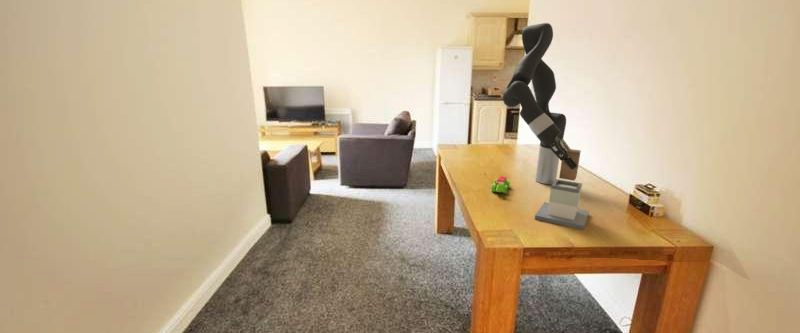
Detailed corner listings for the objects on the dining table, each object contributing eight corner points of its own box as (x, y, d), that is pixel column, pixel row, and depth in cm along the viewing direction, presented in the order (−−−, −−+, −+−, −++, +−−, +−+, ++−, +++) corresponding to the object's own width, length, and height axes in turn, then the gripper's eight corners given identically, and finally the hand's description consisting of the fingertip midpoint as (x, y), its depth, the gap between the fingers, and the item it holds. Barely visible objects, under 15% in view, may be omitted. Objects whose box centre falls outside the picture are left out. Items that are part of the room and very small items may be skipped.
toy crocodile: (496, 182, 171) (497, 170, 170) (510, 184, 169) (511, 172, 167) (489, 195, 154) (490, 182, 152) (505, 198, 151) (507, 184, 150)
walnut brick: (561, 174, 132) (565, 148, 129) (576, 177, 129) (580, 150, 127) (559, 178, 128) (563, 150, 125) (574, 180, 125) (578, 152, 123)
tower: (543, 205, 143) (548, 175, 140) (588, 214, 135) (593, 182, 132) (534, 219, 130) (539, 186, 127) (583, 230, 122) (589, 195, 119)
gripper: (549, 124, 121) (582, 164, 118) (556, 120, 133) (587, 156, 130) (531, 138, 126) (563, 176, 123) (540, 132, 137) (569, 167, 134)
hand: (575, 166), depth 126 cm, fingers closed on walnut brick, 5 cm apart
